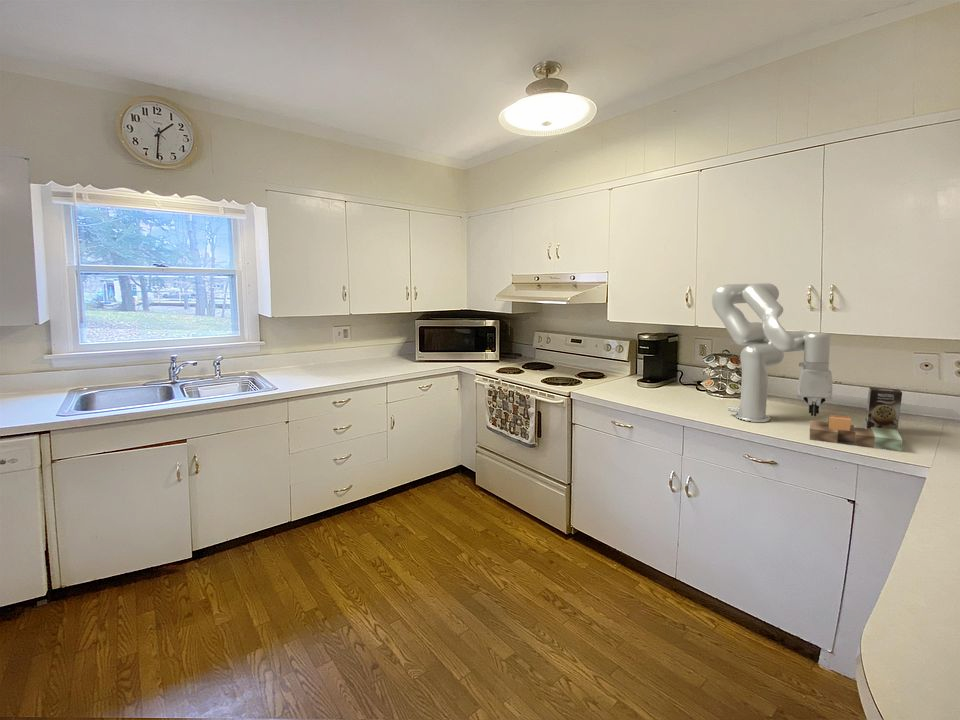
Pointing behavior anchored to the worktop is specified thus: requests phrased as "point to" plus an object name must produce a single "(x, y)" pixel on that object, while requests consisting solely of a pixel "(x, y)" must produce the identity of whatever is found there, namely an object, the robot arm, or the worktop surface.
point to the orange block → (839, 422)
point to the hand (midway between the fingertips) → (813, 415)
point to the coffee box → (883, 408)
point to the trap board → (857, 436)
